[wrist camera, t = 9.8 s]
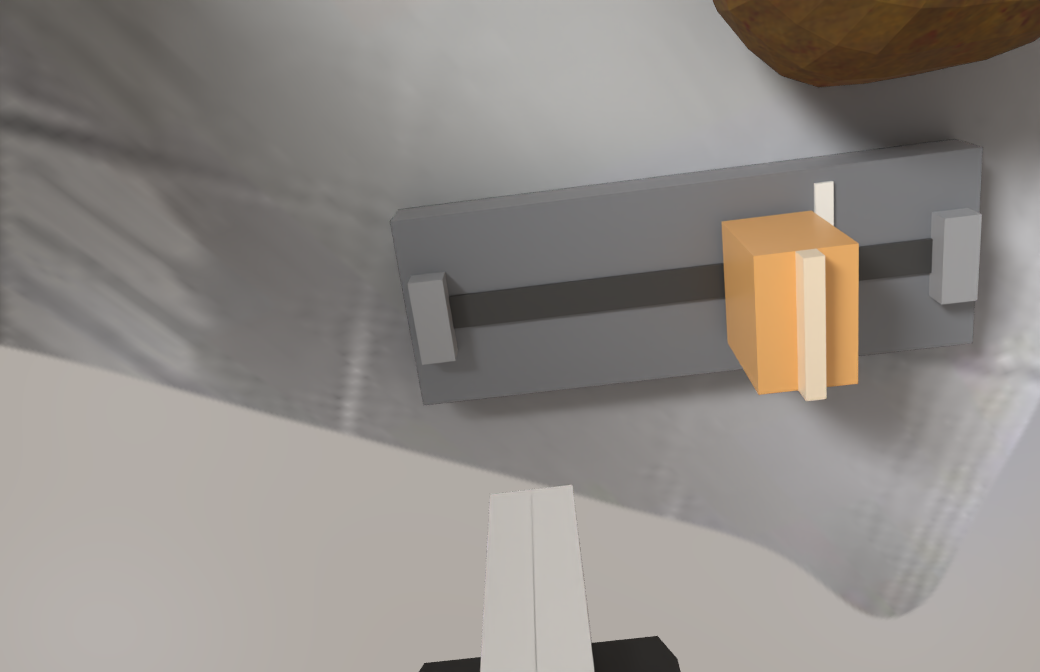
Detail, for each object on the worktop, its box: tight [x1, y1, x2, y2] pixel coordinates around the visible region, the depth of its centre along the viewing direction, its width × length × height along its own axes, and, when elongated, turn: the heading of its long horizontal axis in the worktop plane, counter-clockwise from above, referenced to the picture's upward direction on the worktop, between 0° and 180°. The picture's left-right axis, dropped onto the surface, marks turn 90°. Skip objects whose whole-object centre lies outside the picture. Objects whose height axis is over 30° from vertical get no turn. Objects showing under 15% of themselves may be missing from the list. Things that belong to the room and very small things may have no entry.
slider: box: [721, 211, 859, 401], centre depth 28 cm, size 3×4×5 cm
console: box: [390, 139, 983, 405], centre depth 31 cm, size 20×7×3 cm, turn 97°
